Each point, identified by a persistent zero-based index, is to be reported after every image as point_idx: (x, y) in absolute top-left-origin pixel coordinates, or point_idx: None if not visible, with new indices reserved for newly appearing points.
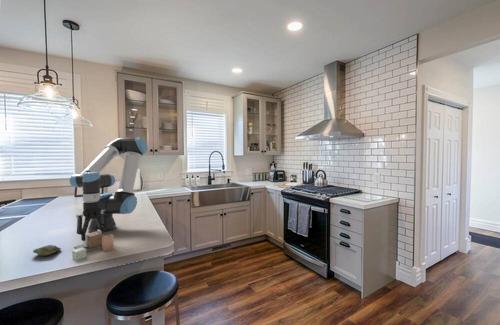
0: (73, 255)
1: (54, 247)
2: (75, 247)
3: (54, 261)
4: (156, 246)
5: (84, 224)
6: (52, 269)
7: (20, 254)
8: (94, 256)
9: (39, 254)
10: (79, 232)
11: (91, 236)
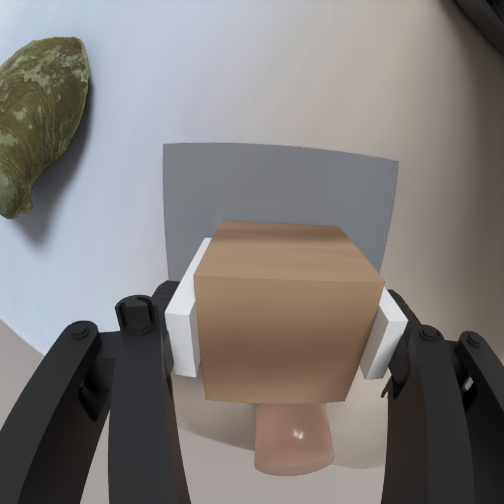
0: None
1: (10, 192)
2: (163, 172)
3: (44, 282)
4: (376, 459)
5: (124, 486)
6: None
7: (11, 15)
8: (194, 400)
9: None
10: (86, 396)
11: (222, 398)
